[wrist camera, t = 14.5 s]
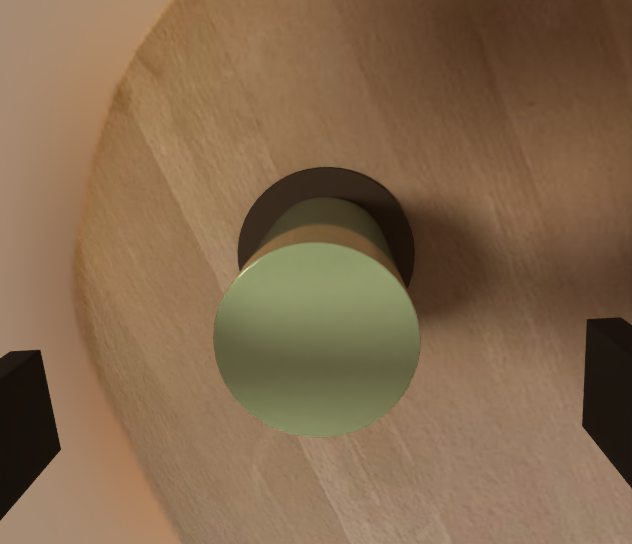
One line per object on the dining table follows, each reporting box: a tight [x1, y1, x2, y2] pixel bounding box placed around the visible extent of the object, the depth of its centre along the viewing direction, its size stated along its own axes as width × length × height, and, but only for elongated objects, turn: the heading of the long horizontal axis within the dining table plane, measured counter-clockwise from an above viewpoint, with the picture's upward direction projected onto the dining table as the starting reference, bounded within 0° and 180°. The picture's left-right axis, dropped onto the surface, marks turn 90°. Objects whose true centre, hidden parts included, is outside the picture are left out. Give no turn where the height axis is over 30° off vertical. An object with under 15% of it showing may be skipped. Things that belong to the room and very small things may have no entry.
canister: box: [213, 197, 421, 437], centre depth 24 cm, size 6×6×12 cm
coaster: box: [238, 167, 414, 289], centre depth 30 cm, size 9×9×1 cm
